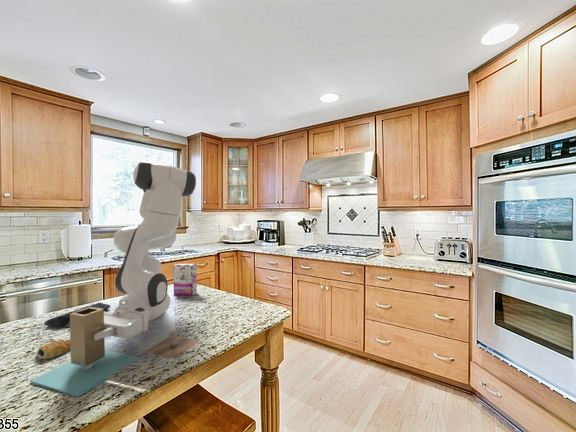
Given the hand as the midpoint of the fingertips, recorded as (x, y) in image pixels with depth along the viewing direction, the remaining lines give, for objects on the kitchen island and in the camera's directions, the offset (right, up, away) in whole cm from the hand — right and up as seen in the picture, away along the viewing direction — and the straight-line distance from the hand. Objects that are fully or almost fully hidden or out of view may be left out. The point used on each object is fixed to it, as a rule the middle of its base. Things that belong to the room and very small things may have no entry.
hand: (84, 335), depth 77 cm
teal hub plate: (0, -10, +1) cm, 10 cm away
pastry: (-18, -11, +11) cm, 23 cm away
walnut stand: (+19, -10, +14) cm, 26 cm away
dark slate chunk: (-32, -10, +41) cm, 53 cm away
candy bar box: (+2, -9, +71) cm, 72 cm away
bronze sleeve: (0, -7, +1) cm, 7 cm away
